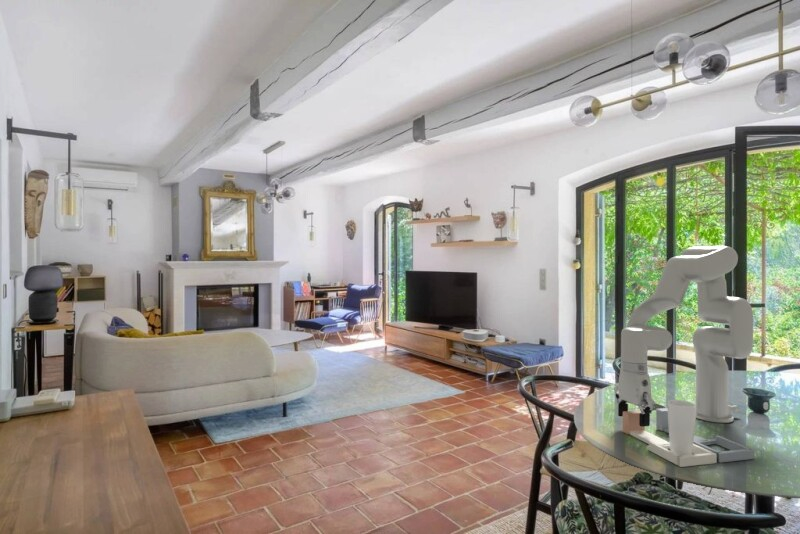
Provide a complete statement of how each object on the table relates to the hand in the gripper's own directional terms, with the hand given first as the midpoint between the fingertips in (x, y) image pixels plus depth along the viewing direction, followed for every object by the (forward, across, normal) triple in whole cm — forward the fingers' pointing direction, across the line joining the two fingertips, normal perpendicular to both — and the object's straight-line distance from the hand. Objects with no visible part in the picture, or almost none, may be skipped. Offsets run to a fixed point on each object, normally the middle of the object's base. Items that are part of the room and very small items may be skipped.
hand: (633, 420), depth 151 cm
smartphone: (+4, +27, -25) cm, 37 cm away
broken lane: (+4, -12, -13) cm, 18 cm away
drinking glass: (+4, -19, 0) cm, 19 cm away
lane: (+4, -12, 0) cm, 12 cm away
